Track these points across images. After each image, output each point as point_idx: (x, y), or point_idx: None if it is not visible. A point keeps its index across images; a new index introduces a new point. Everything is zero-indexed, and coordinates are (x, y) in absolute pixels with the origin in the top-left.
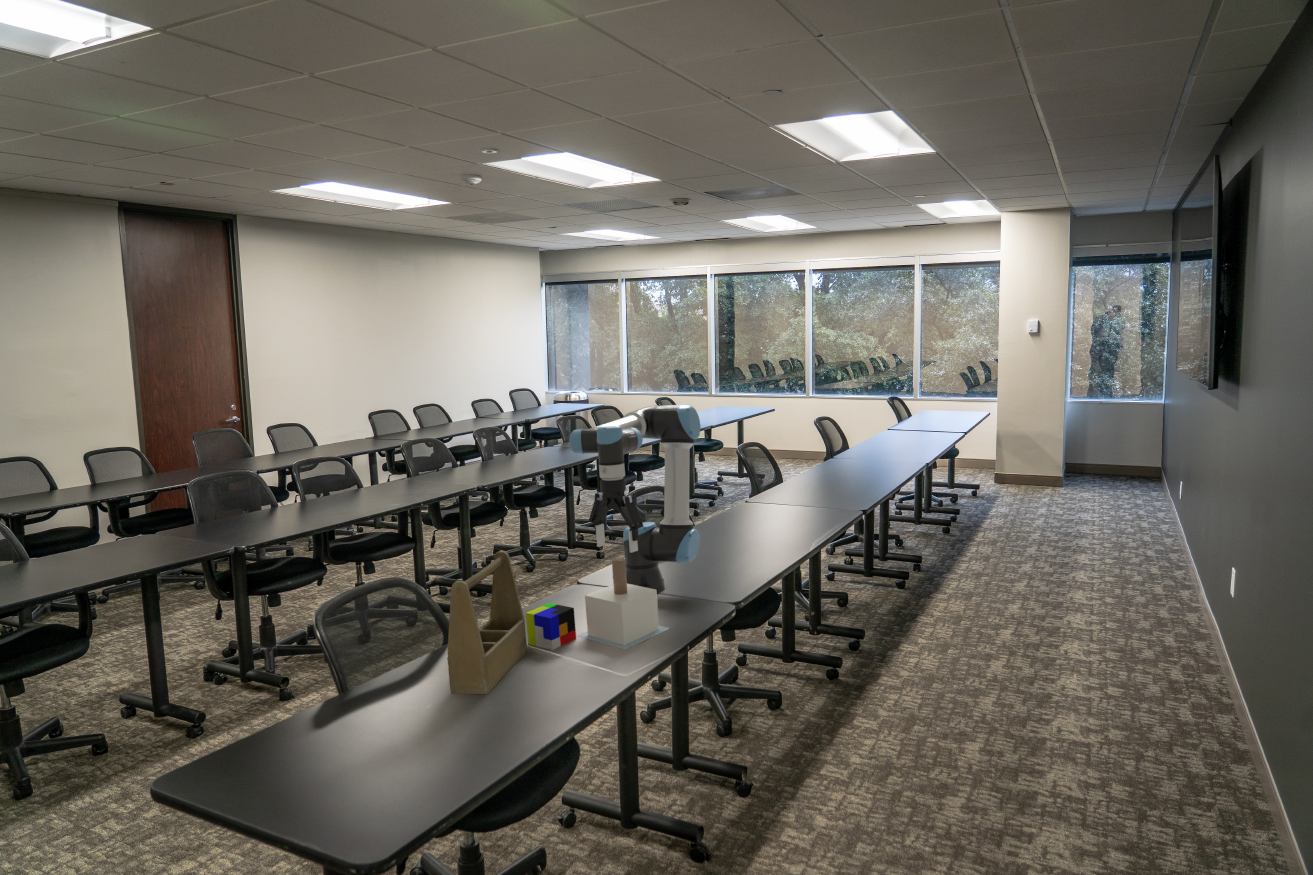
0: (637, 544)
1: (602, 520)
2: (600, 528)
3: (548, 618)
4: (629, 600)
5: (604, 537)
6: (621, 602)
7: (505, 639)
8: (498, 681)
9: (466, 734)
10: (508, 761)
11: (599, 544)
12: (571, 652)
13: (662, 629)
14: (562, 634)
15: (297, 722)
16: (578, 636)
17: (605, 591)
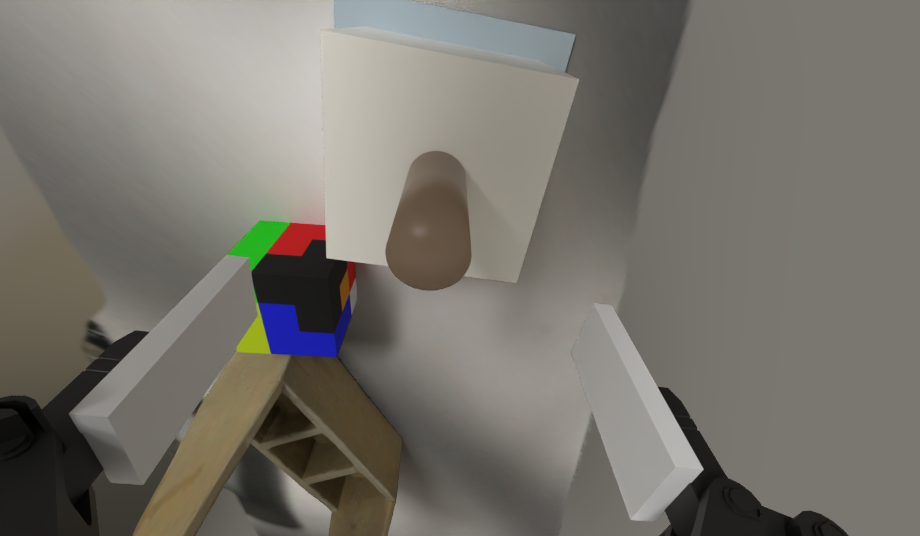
0: (628, 337)
1: (61, 482)
2: (157, 416)
3: (331, 355)
4: (527, 247)
5: (214, 301)
6: (509, 272)
7: (351, 448)
8: (382, 415)
9: (466, 494)
10: (552, 506)
11: (247, 319)
12: (402, 289)
13: (553, 59)
14: (348, 286)
15: (262, 529)
16: None
17: (365, 192)
